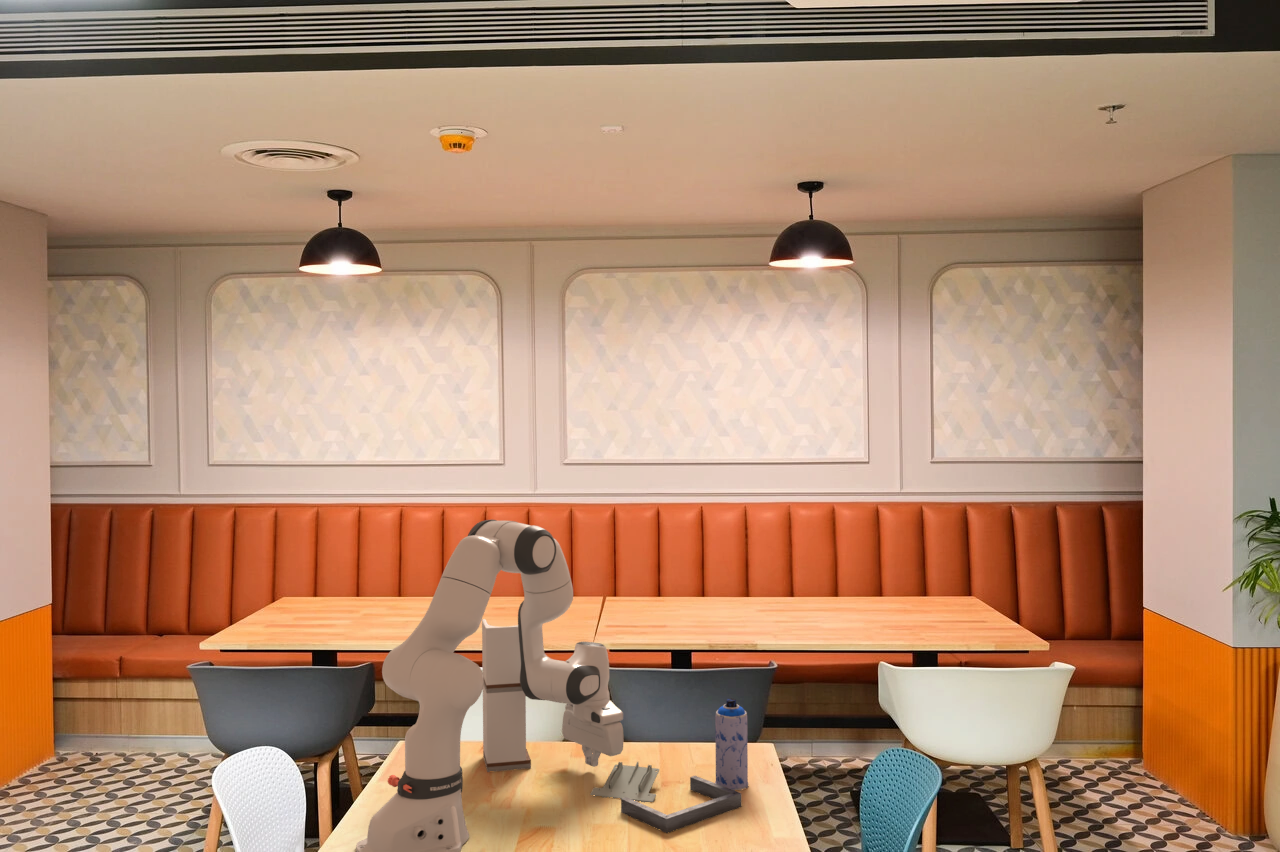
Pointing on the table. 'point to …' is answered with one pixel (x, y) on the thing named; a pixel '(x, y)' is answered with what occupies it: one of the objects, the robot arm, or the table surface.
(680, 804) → the table surface
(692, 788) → the steel u-shaped frame
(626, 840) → the table surface
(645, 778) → the metal bracket
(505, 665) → the banded square pillar
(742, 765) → the aerosol can
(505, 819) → the table surface
